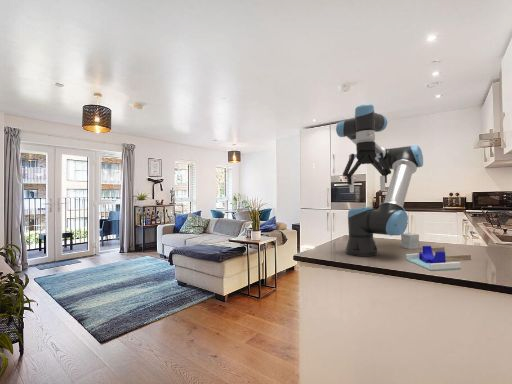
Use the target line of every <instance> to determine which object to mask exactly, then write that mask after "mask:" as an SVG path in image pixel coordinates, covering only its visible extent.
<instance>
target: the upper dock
mask: <svg viewBox="0 0 512 384" xmlns="http://www.w3.org/2000/svg"><path fill="white" fill-rule="evenodd" d="M431 248H432V252H433V253H435V251H444V252H445V250H446V249H445V246H438V247H437V246H436V247H435V246H433V247H431ZM419 253H423V247H419ZM471 256H472V255H471V254H469V253H467V254H454V255H445V258H446V262H451V261H452V262H456V261H467V260H468V261H470V260H472V257H471Z"/></svg>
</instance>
